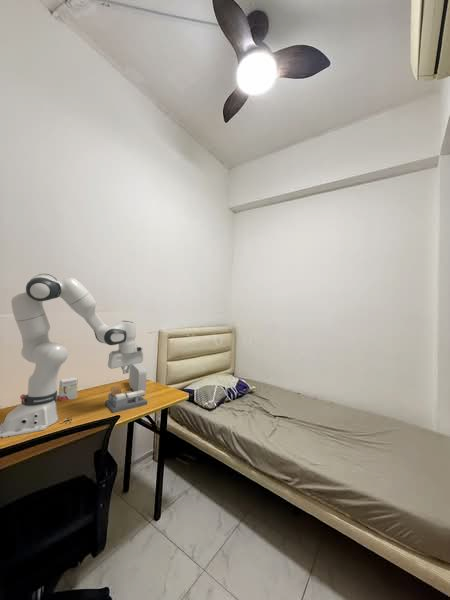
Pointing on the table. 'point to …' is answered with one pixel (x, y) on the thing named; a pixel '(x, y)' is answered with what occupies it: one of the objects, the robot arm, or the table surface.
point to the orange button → (115, 390)
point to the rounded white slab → (137, 377)
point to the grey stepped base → (124, 403)
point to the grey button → (120, 396)
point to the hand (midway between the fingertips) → (125, 373)
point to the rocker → (135, 394)
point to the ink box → (68, 389)
